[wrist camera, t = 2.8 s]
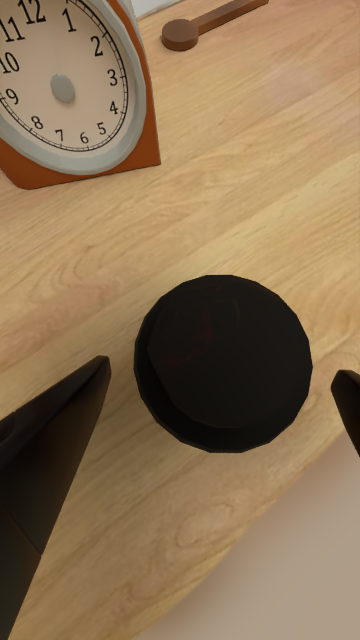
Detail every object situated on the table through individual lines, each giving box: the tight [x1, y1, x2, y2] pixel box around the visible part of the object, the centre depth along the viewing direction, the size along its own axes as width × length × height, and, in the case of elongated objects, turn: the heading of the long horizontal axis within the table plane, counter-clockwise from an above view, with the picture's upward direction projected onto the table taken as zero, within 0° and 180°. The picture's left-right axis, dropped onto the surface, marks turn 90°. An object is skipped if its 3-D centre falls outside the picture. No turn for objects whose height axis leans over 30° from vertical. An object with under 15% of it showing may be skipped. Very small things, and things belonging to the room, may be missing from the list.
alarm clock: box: [0, 0, 161, 189], centre depth 17 cm, size 15×8×14 cm, turn 102°
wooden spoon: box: [162, 0, 269, 51], centre depth 29 cm, size 16×4×1 cm, turn 125°
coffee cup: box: [133, 275, 313, 453], centre depth 12 cm, size 7×7×10 cm
